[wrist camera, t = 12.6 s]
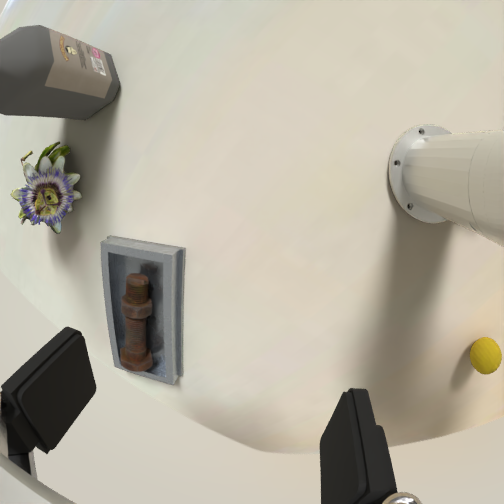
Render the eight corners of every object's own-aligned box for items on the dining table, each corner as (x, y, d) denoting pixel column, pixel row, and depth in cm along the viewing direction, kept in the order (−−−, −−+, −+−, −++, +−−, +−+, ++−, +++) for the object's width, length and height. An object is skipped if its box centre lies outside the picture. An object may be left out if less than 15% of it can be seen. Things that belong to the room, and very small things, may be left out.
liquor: (111, 47, 30) (-56, -12, 2) (126, 94, 33) (-76, 57, 4) (67, 81, 32) (-96, 63, 4) (80, 127, 35) (-105, 137, 6)
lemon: (488, 344, 37) (508, 369, 29) (464, 360, 38) (483, 388, 31) (485, 323, 36) (508, 348, 28) (461, 340, 37) (482, 368, 30)
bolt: (153, 268, 41) (149, 350, 45) (119, 266, 38) (120, 350, 43) (158, 286, 36) (153, 373, 40) (119, 285, 34) (121, 373, 38)
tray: (185, 248, 38) (176, 255, 35) (183, 373, 45) (176, 385, 42) (110, 235, 39) (97, 241, 36) (120, 355, 46) (112, 366, 43)
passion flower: (98, 189, 43) (68, 247, 36) (48, 183, 41) (16, 236, 34) (87, 132, 34) (44, 190, 27) (33, 131, 32) (-11, 184, 25)
